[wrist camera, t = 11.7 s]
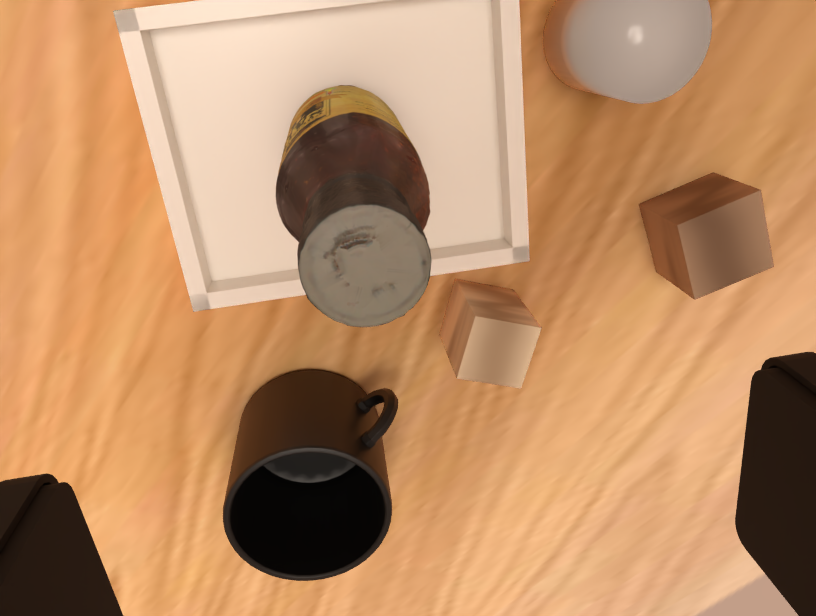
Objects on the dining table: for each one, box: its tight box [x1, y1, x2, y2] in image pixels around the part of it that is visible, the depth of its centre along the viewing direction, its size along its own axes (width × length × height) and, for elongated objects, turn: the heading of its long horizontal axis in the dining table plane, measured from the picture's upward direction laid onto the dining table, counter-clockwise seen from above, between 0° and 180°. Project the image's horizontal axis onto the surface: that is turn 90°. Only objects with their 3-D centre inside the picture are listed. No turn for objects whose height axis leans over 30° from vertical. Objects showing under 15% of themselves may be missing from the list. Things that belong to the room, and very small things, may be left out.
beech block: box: [439, 279, 541, 388], centre depth 41 cm, size 4×4×6 cm
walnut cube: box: [639, 173, 774, 299], centre depth 41 cm, size 5×5×5 cm
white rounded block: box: [543, 0, 712, 104], centre depth 34 cm, size 6×6×7 cm
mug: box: [223, 370, 398, 581], centre depth 41 cm, size 9×12×9 cm
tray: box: [113, 0, 530, 312], centre depth 37 cm, size 20×16×2 cm
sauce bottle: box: [276, 85, 432, 327], centre depth 28 cm, size 6×6×20 cm
